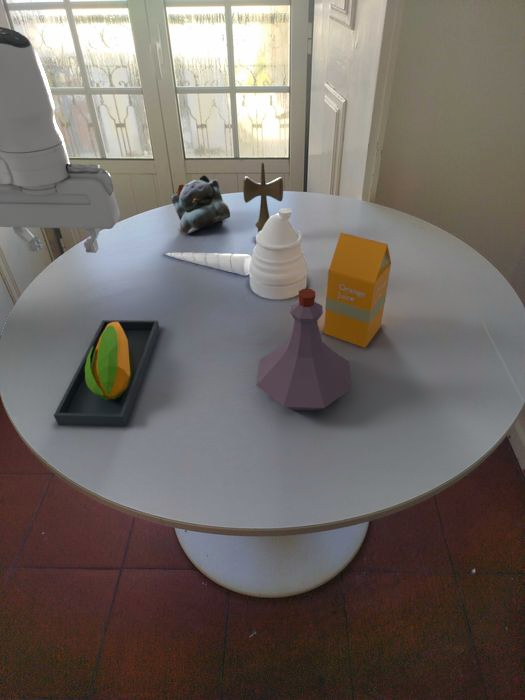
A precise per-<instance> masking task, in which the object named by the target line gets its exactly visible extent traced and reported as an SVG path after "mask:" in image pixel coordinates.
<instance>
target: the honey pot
mask: <svg viewBox="0 0 525 700" xmlns="http://www.w3.org/2000/svg"><path fill="white" fill-rule="evenodd" d="M291 216H292V209H291V208H289V207H283V208H279V209H278V213H274V214H272V215H271V216H269V217H270V218H269V219H268V220H267V222H266V223H265V225H264V227H263V228H262V230H261V231H260V232H258V231H257V233H258V234H256V235H255V237H256V241H255V242H256V243H255V246H254V247H253V251H252V254H251V257H252V259H251V260H250V264H249V269H250V270H249V272H250V273H249V275H248V276H249V286H250V289H251V291H252V292H253V293H254V294H255V295H257V296H259V297H262V298H264V299H269V300H288V299H291V298H294V297H297V296H299V291H300V290H302V289H307V285H308V283H307V282H308V261H307V259H306V257H305V253H304V248H303V247H302V245H301V244H302V242H303V241H304V236H303V233H302V232H301V231H300V230H298V229H296V228H294V227H293V225H292V223H291V221H290V220H289V219H290V218H291Z"/></svg>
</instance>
